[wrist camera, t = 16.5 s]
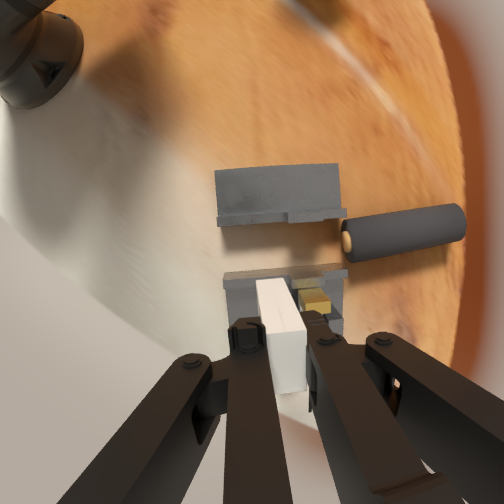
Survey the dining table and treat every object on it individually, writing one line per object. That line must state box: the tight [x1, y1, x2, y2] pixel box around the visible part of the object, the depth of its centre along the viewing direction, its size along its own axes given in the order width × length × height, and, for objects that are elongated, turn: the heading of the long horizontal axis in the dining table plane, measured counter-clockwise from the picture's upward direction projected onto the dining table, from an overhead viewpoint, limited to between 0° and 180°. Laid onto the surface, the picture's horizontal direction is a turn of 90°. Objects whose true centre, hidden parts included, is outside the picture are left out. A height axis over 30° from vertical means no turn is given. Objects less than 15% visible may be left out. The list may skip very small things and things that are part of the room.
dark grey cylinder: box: [341, 203, 466, 263], centre depth 34 cm, size 17×5×5 cm, turn 100°
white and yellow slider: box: [298, 288, 331, 316], centre depth 31 cm, size 2×8×4 cm, turn 5°
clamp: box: [215, 163, 348, 336], centre depth 33 cm, size 14×23×7 cm, turn 4°
